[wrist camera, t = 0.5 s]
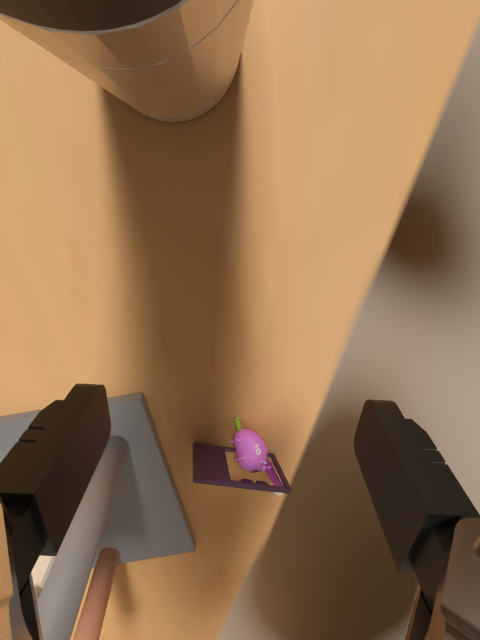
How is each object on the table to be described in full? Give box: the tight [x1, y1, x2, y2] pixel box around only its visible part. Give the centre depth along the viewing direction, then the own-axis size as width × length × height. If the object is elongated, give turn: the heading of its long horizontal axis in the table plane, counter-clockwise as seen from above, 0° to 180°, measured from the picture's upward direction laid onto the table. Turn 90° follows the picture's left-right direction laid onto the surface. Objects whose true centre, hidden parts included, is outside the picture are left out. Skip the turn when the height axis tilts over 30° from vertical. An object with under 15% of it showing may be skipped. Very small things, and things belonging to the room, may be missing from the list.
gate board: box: [0, 393, 195, 640], centre depth 30 cm, size 24×22×17 cm
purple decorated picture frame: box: [193, 417, 291, 495], centre depth 33 cm, size 7×5×9 cm
